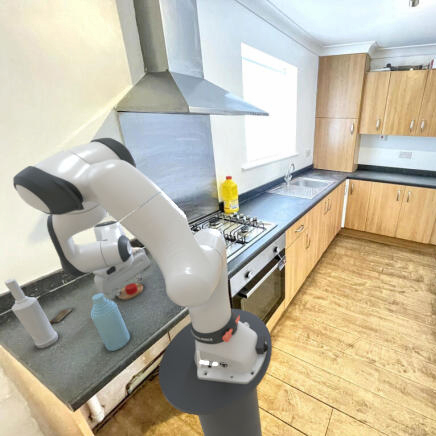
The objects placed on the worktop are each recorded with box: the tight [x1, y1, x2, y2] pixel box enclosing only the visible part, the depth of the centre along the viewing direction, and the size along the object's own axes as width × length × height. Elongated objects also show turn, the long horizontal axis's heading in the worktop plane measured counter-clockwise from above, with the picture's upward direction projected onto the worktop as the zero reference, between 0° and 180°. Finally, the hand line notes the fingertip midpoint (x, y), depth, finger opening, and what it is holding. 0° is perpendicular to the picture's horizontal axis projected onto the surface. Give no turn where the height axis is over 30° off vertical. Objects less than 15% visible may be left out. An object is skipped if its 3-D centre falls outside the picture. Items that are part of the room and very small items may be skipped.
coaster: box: [117, 282, 144, 300], centre depth 97 cm, size 9×9×1 cm
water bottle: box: [90, 292, 131, 352], centre depth 72 cm, size 6×6×19 cm
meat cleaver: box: [48, 308, 73, 325], centre depth 83 cm, size 12×1×5 cm
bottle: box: [4, 278, 59, 349], centre depth 71 cm, size 5×5×25 cm
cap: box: [124, 282, 138, 295], centre depth 96 cm, size 4×4×3 cm
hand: (130, 287), depth 97 cm, fingers open, 8 cm apart
